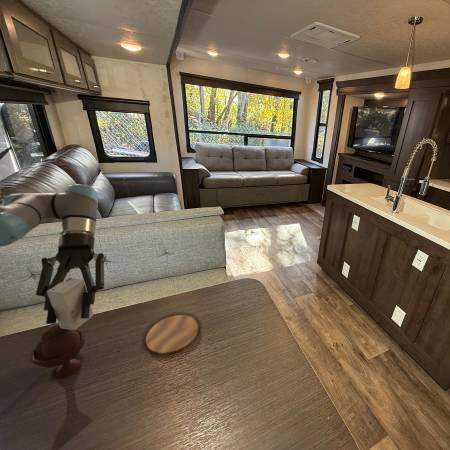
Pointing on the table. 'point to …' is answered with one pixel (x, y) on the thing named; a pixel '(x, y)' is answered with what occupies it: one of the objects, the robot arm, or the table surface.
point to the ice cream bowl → (59, 350)
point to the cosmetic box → (69, 303)
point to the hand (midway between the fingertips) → (68, 320)
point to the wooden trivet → (172, 334)
